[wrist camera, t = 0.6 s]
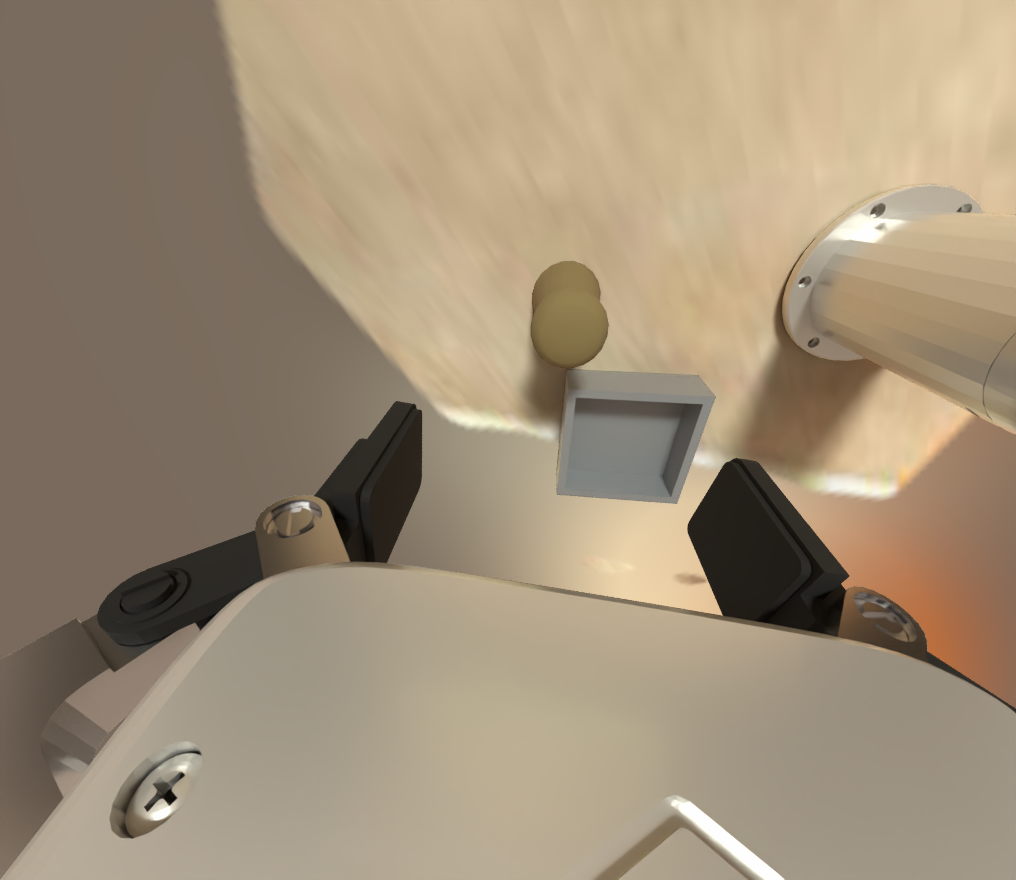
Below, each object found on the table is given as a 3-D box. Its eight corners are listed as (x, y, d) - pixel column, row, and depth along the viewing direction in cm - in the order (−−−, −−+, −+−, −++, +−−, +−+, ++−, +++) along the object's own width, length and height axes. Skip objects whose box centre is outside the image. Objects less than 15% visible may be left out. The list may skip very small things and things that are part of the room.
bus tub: (698, 375, 35) (715, 396, 31) (666, 476, 42) (676, 503, 38) (566, 369, 36) (567, 389, 32) (556, 468, 43) (556, 494, 39)
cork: (549, 343, 35) (547, 394, 25) (520, 283, 32) (505, 316, 23) (610, 313, 32) (631, 357, 23) (584, 246, 30) (597, 267, 21)
